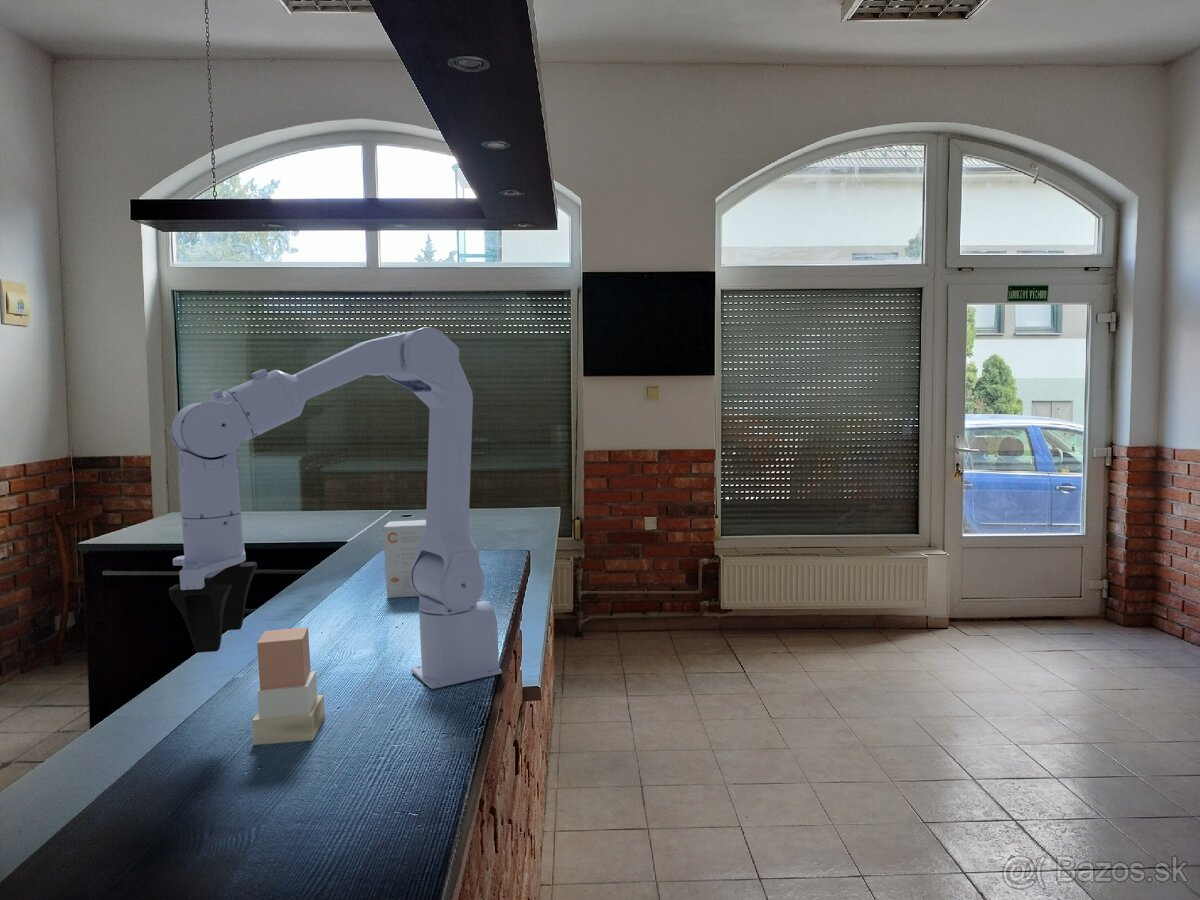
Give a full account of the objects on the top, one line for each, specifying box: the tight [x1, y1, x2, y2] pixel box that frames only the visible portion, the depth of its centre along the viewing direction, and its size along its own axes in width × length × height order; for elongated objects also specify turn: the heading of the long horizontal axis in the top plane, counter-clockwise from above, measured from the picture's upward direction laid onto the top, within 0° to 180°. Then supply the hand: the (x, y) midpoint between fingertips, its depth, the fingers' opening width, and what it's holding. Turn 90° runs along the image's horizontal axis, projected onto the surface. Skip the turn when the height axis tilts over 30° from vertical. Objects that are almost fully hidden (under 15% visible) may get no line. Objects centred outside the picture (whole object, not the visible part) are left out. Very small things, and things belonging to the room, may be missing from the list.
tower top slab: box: [257, 670, 318, 719], centre depth 88 cm, size 5×5×3 cm
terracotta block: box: [256, 626, 311, 690], centre depth 88 cm, size 4×4×5 cm
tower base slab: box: [251, 694, 326, 746], centre depth 88 cm, size 6×6×3 cm
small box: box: [382, 519, 426, 599], centre depth 147 cm, size 8×6×13 cm
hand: (220, 639), depth 87 cm, fingers open, 7 cm apart
